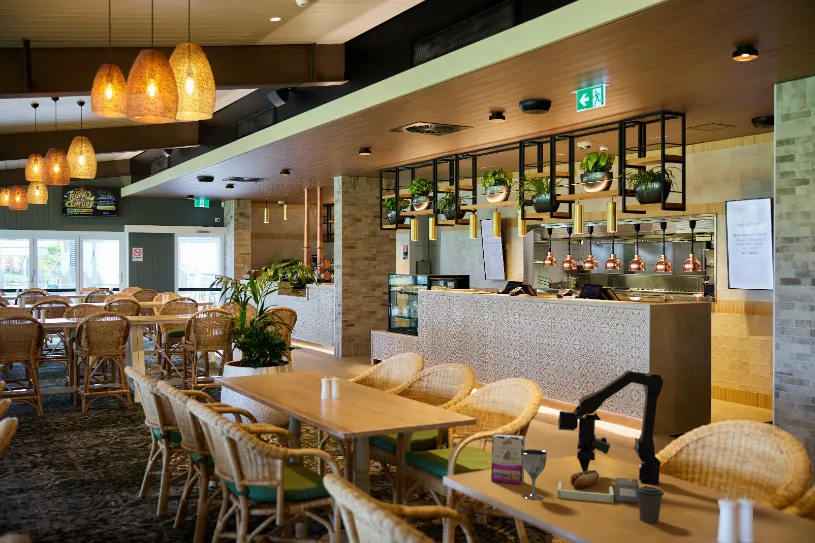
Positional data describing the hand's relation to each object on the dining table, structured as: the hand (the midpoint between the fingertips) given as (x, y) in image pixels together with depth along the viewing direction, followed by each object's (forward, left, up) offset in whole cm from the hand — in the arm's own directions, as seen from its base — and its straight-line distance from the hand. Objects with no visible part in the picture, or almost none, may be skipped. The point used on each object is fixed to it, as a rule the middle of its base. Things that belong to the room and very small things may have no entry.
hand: (585, 473), depth 286 cm
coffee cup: (-19, +44, -2) cm, 48 cm away
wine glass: (+17, +31, -2) cm, 36 cm away
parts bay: (0, +23, -2) cm, 23 cm away
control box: (-13, +23, -2) cm, 27 cm away
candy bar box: (+27, +15, -2) cm, 31 cm away
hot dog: (0, +11, -2) cm, 11 cm away
